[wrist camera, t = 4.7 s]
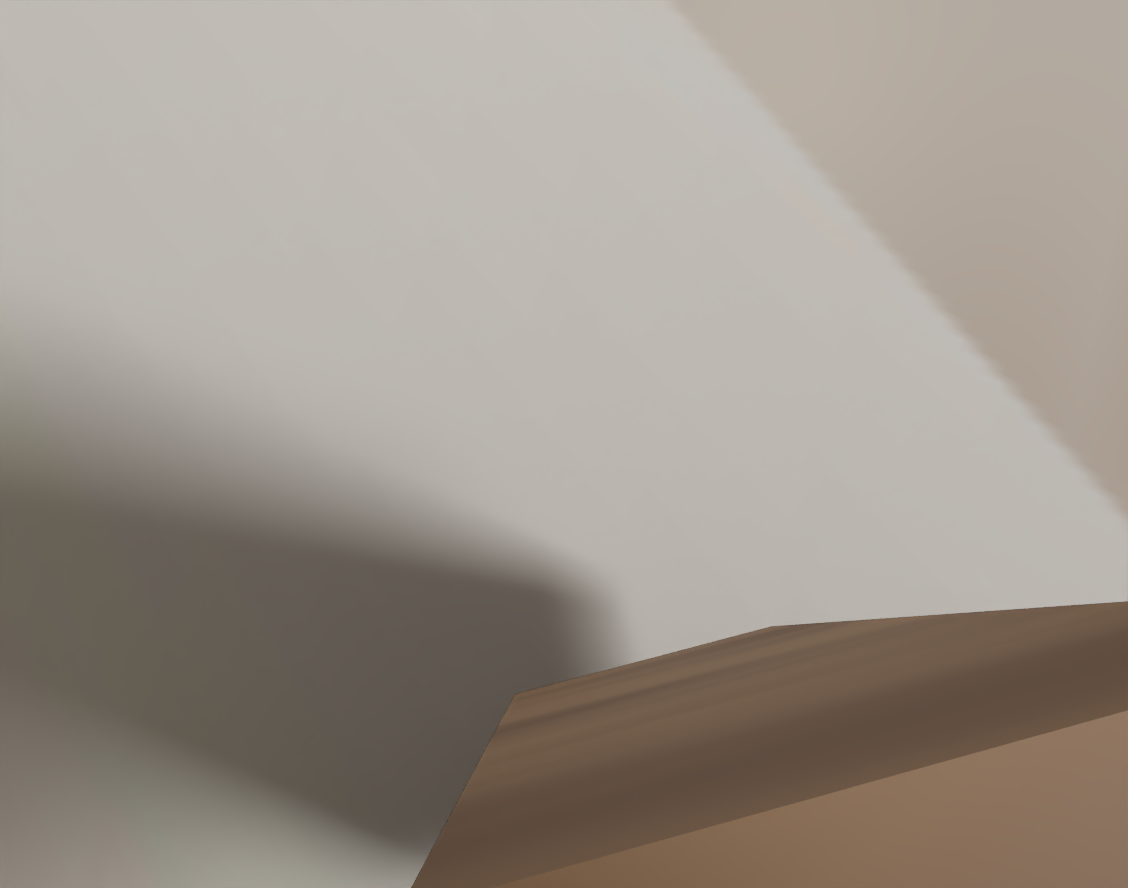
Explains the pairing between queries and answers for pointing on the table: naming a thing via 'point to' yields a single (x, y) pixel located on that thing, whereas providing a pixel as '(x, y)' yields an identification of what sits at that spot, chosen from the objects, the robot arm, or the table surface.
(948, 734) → the walnut block
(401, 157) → the table surface
